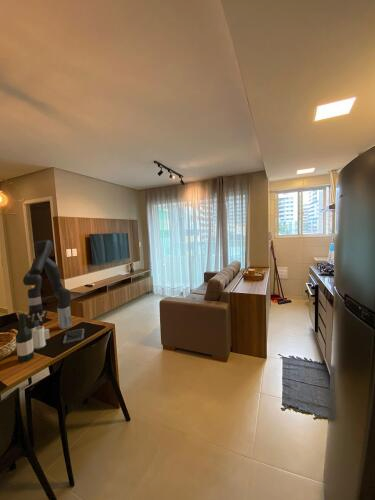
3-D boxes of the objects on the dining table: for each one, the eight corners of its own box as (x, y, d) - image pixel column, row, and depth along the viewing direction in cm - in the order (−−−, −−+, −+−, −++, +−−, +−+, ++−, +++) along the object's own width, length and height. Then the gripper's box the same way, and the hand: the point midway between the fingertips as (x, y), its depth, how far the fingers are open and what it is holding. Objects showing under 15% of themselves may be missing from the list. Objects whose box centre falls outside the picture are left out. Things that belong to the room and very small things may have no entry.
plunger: (43, 336, 153) (41, 319, 152) (42, 339, 149) (41, 321, 148) (34, 338, 151) (32, 320, 150) (33, 341, 146) (31, 323, 145)
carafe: (50, 341, 157) (48, 324, 156) (49, 345, 150) (47, 328, 149) (33, 345, 152) (31, 327, 151) (32, 350, 145) (30, 332, 144)
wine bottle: (24, 355, 139) (19, 311, 137) (37, 354, 140) (32, 310, 137) (14, 363, 131) (9, 316, 128) (29, 362, 132) (24, 315, 129)
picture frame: (65, 334, 168) (63, 344, 152) (65, 331, 168) (62, 342, 152) (84, 330, 174) (83, 340, 158) (84, 327, 174) (83, 337, 157)
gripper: (47, 299, 154) (49, 322, 156) (23, 303, 147) (25, 327, 149) (46, 302, 148) (49, 326, 149) (21, 306, 141) (24, 331, 142)
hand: (37, 326), depth 149 cm, fingers closed on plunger, 3 cm apart
